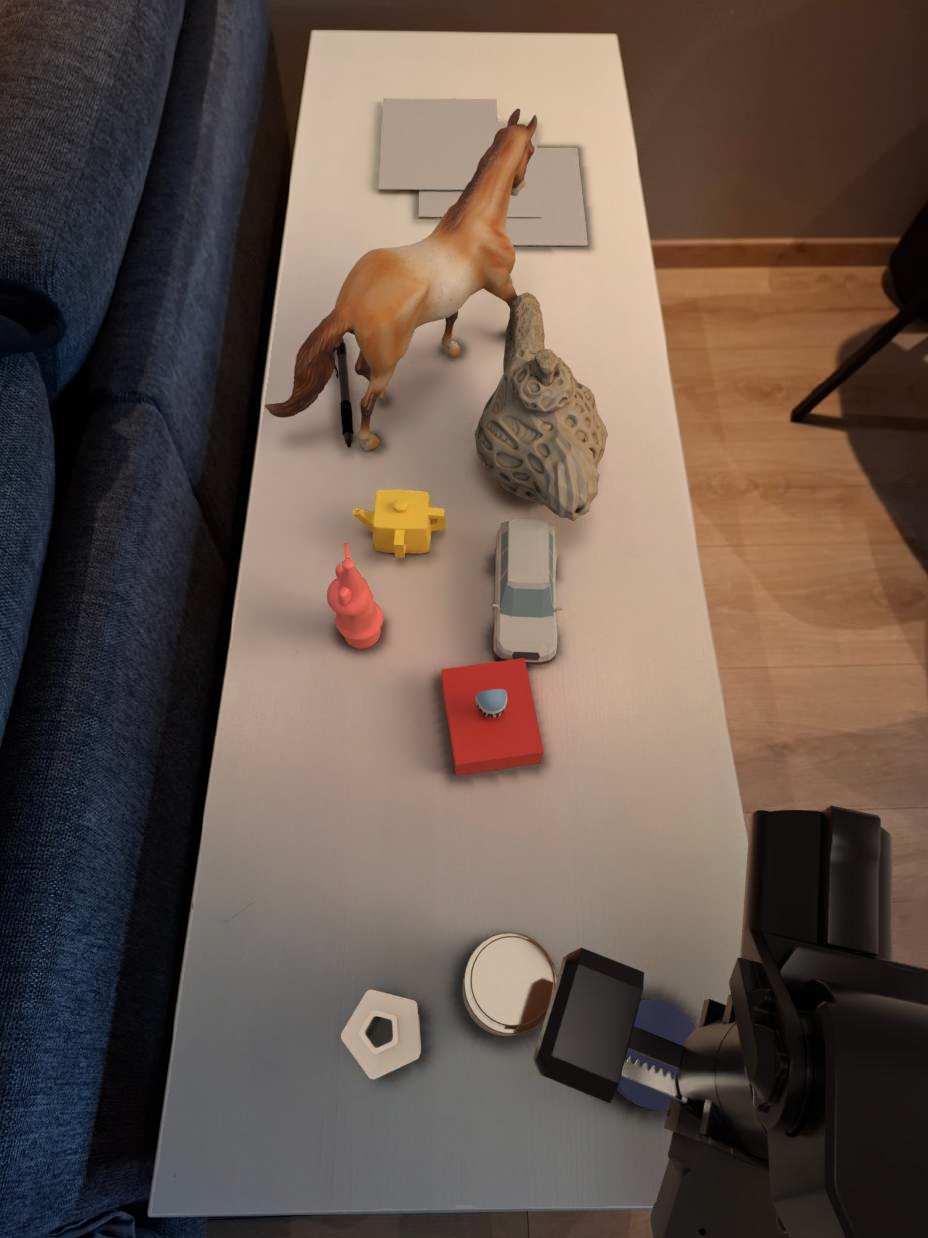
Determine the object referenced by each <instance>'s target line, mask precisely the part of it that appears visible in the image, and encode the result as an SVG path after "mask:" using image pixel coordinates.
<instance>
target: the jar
mask: <svg viewBox="0 0 928 1238" xmlns="http://www.w3.org/2000/svg"><path fill="white" fill-rule="evenodd" d="M555 966H556V965H555V964H554V962H553V960H552V958H551V956H550V954H549V952H548V951H547V950H546V949H545V948H544V946H543V945H541V944H540V943H539V942H538V941H536V940H535V939H534V938H532V937H530V936H528V935H525V934H523V933H518V932H509V931H508V932H500V933H496V934H493V935H491V936H490V937H487V938H486V939H484V940H483V941H481V942H480V943H479V944H478V945H477V946H476V948H475V949H474V950H473V951H472V953H471V954H470V956H469V957H468V959H467V962H466V965H465V968H464V973H463V978H462V987H461V991H462V992H461V993H462V999H463V1003H464V1007H465V1009H466V1011H467V1013H468V1015H469V1017H470V1018H471V1020H473V1022H474V1023H475V1024H476V1025H477V1026H478V1027H480V1028H481V1029H482V1030H483V1031H486V1032H487V1033H489V1034H492V1035H495V1036H501V1037H511V1036H515V1035H520V1034H524V1033H528V1032H529V1031H532V1030H534V1029H535V1028H537V1027H538V1026H540V1025H541V1023H544V1020H545V1017H546V1013H547V1010H548V1007H549V1003H550V1000H551V997H552V994H553V990H554V987H555V984H556V980H557V977H558V974H557V969H556V967H555Z"/></svg>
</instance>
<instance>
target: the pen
mask: <svg viewBox="0 0 928 1238" xmlns="http://www.w3.org/2000/svg"><path fill="white" fill-rule="evenodd" d="M346 345H347V344H346V343H345V340H344V337H343V338H342V342H341V344H340V346H339V347H337V348H334V349H333V351H334V354H335V352H336V357H337V364H336V363H335V369H334V371H335V377H336V379H338V383H339V394H340V403H339V408H340V411H339V412H340V420H341V433H342V436H343V439H344V444H345V445H346V447H347V448H348V449H350V448H351V447H352V445H353V438H354V437H353V436H354V434H355V431H354V419H353V408H352V402H351V396H350V382H349V369H348V359H347V357H348V354H347V353H348V352H347V346H346Z"/></svg>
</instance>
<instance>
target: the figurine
mask: <svg viewBox="0 0 928 1238" xmlns="http://www.w3.org/2000/svg"><path fill="white" fill-rule="evenodd" d="M343 552H344V559H343V560H342V562H341V564H337V565H336V566H335V570H334V572H335V576H336V578H334V579H333V580H332V581H331V582H330V583H329V585H328V587H327V591H326V601H327V604H328V606H329V608H330V609H331V611H332V612H333V613H335V619H334V622H335V626H336V628H337V630H338V632H339V634H341V635H342V636H343V637H344V640H345V642H346V643H347V644H348V645H349V646H351V647H352V648H354V649H362V650H363V649H368V648H370V647H372V646H374V645H375V644H376V643H377V642H378V641H379V639H380V637H381V633H382V629H381V628H382V625H383V623H384V614H383V610H382V608H381V607H380V605H379V604H378V603H377V602H376V601H375V599H374V594H373V592H372V590H371V588H370V585H369V582H367V579H365V578H364V577H363V576H362V574H361V573H360V571H359V569H358V568H356V567H355V562H354V560H353V559H352V558H351V554H350V544H349V542H344V543H343Z"/></svg>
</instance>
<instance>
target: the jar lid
mask: <svg viewBox="0 0 928 1238" xmlns="http://www.w3.org/2000/svg"><path fill="white" fill-rule="evenodd" d="M634 1026H635V1027H638V1028H640V1029H643V1030H645V1031H648V1032H650V1033H652V1034H655V1035H657V1036H660V1037H662V1038H665V1039H667V1040H670V1041H672V1042H675V1043H677V1044H680V1045H682V1046H684V1044H685V1042H686V1040H687V1038H688V1037H689V1036H690V1034H691V1033H692V1032H693V1031H694V1030H695V1029H696V1028H697V1026H696V1024H695V1023H694V1022H693V1021H692V1019H691V1018H690V1017H689V1016H688V1015H687V1014H686V1013H685V1012H684V1011H683V1010H682V1009H681V1008H680V1007H678V1006H676V1005H675V1004H673V1003H670V1002H668V1001H666V1000H662V999H655V998H654V999H653V998H648V999H646V998H645V999H644V998H641V1000H640V1004H639V1008H638V1012H637V1016H636V1019H635V1023H634ZM628 1055H631V1056H632V1063H633V1062H634V1061H635V1059H636V1058H638V1059H640V1066H641V1065H642V1064H643V1062H647V1064H648V1070H649V1068H650V1067H651V1065H655V1069H656V1073H657V1071H658V1070H659V1068H662V1069H663V1074H664V1076H665V1074H666V1072H667V1071H670V1072H671V1078H672V1079H673V1077H674V1075H675V1074H677V1075H678V1069H675V1068H673V1067H671V1066H668V1065H666V1064H663V1063H661V1062H658V1061H656V1060H653V1059H651V1058H649V1057H646V1056H644V1055H641V1054H639V1053H636V1052H634V1051H631V1050H629V1049H628V1050H627V1054H626V1058H627V1057H628ZM626 1058H625V1060H626ZM616 1091H618V1092H619V1094H620V1095H621V1096H623V1098H625V1099H626V1102H629V1103H633V1104H634V1105H636V1106H638V1107H641V1108H643V1109H644V1110H647V1111H650V1110H653V1111H665V1112H668V1108H669V1104H670V1101H671V1099H675V1098H673V1097H671V1096H668V1095H666V1094H663V1093H661V1092H659V1091H656V1090H654V1089H651V1088H649V1087H646V1086H644V1085H642V1084H639V1083H637V1082H634V1081H632V1080H630V1079H627V1078H625V1077H622V1076H621V1078H620V1081H619V1085H618V1087H617V1089H616ZM676 1100H678V1099H676ZM678 1101H680V1100H678ZM680 1102H681V1101H680Z"/></svg>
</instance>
